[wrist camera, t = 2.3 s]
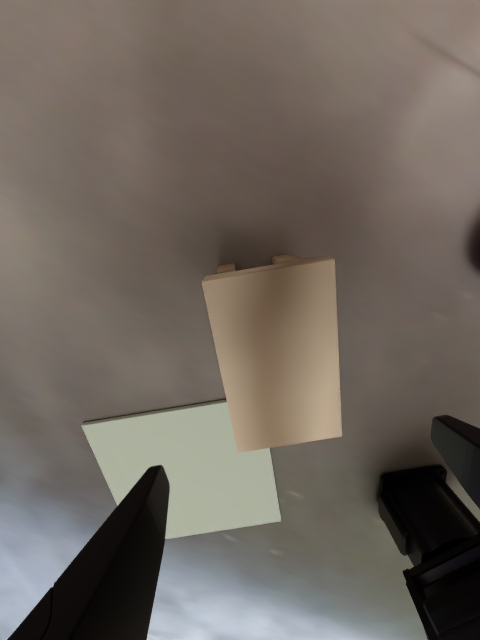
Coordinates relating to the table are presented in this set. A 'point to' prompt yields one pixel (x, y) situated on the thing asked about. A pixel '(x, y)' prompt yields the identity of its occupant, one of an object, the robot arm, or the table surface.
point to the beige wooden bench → (277, 350)
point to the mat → (189, 466)
